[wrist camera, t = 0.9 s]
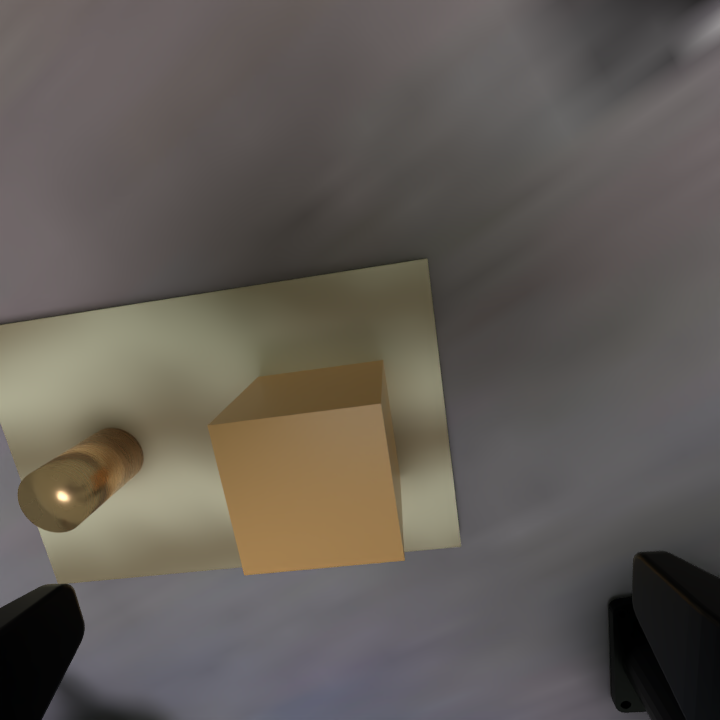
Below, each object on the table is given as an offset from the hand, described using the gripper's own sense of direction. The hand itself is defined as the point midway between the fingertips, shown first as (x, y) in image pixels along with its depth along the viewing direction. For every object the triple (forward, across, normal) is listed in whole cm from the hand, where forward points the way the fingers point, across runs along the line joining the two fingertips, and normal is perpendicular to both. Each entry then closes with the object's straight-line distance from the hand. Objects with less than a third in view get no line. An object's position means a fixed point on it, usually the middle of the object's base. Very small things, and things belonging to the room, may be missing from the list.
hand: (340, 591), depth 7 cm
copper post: (+12, +12, +2) cm, 17 cm away
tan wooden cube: (+12, +2, +2) cm, 12 cm away
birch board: (+13, +7, +2) cm, 15 cm away
